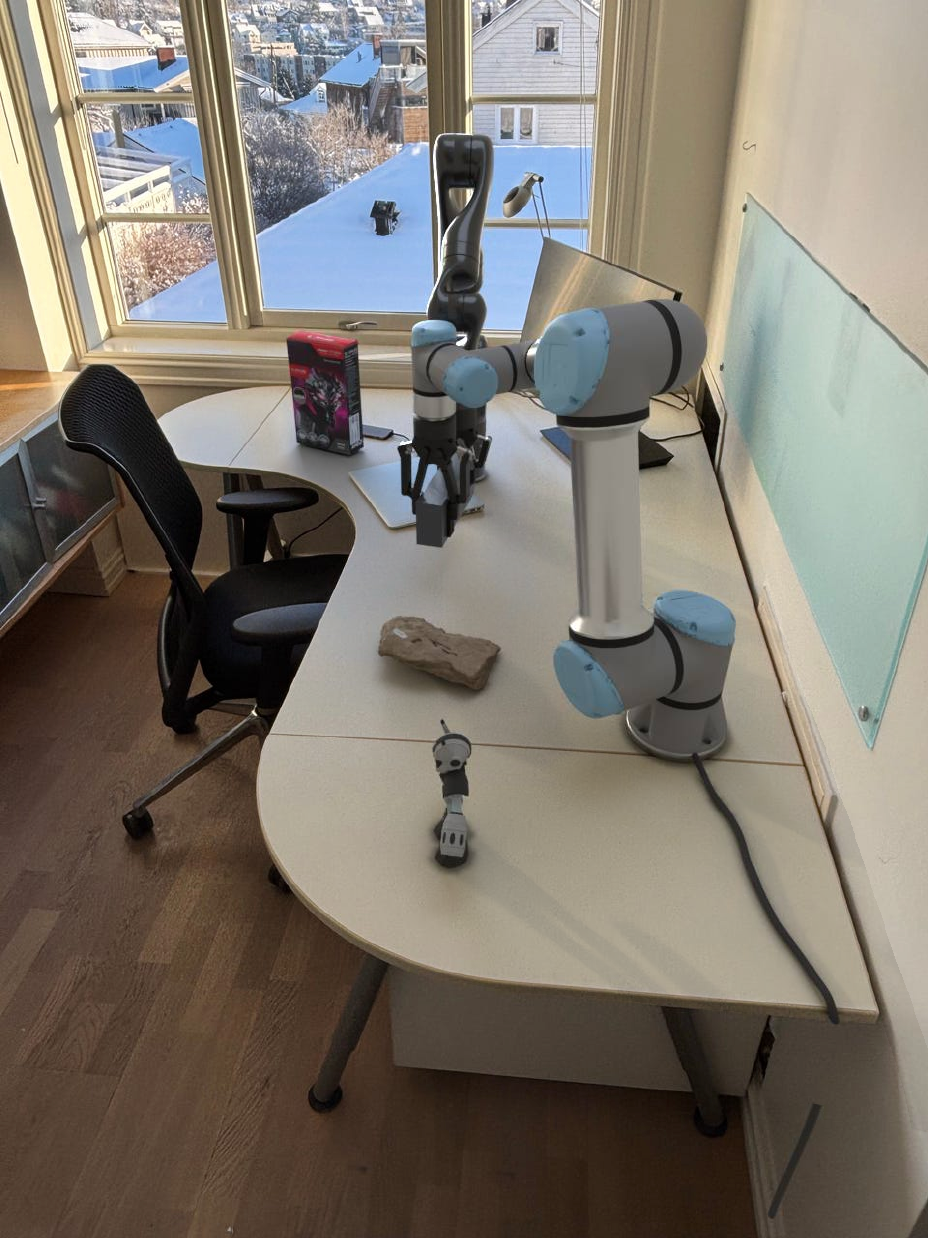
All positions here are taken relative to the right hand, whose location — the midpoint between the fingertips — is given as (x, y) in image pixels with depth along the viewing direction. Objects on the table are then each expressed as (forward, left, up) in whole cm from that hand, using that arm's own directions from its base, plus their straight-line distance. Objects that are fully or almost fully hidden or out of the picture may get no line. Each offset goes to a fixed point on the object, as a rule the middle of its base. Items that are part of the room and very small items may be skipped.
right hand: (435, 531), depth 173 cm
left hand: (+14, 0, +3) cm, 15 cm away
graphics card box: (+55, +45, -11) cm, 72 cm away
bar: (+7, 0, -1) cm, 7 cm away
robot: (-64, -21, -11) cm, 68 cm away
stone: (-26, -7, -11) cm, 29 cm away
